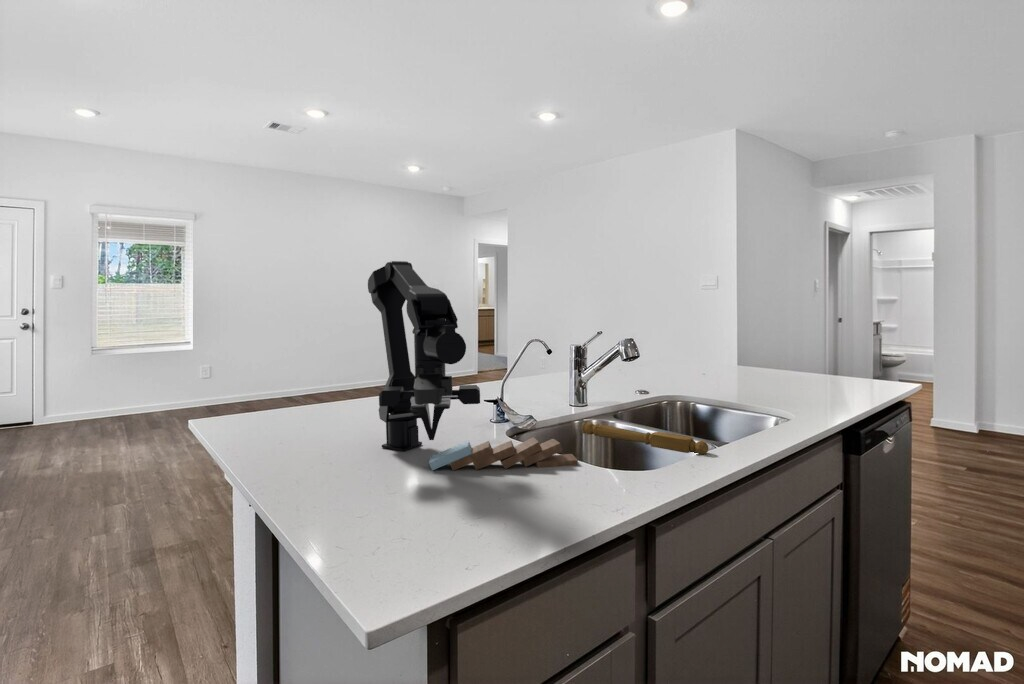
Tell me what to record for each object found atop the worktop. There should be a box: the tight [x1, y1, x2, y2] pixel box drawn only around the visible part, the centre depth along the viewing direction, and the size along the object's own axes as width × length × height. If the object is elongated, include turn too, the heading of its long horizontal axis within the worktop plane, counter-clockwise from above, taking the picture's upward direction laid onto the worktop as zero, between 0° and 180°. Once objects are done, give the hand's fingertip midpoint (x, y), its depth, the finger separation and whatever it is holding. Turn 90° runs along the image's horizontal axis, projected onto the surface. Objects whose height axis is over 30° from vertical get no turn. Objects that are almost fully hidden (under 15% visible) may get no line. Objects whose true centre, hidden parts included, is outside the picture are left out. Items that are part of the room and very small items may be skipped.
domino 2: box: [449, 440, 493, 472], centre depth 108 cm, size 2×4×8 cm
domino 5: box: [519, 438, 563, 467], centre depth 110 cm, size 2×4×8 cm
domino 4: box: [499, 436, 542, 470], centre depth 109 cm, size 2×4×8 cm
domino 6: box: [534, 453, 579, 468], centre depth 110 cm, size 2×4×8 cm
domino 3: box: [472, 440, 515, 471], centre depth 108 cm, size 2×4×8 cm
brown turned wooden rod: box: [581, 421, 709, 455], centre depth 125 cm, size 3×3×30 cm
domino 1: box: [428, 440, 473, 471], centre depth 108 cm, size 2×4×8 cm
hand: (431, 439), depth 108 cm, fingers closed
